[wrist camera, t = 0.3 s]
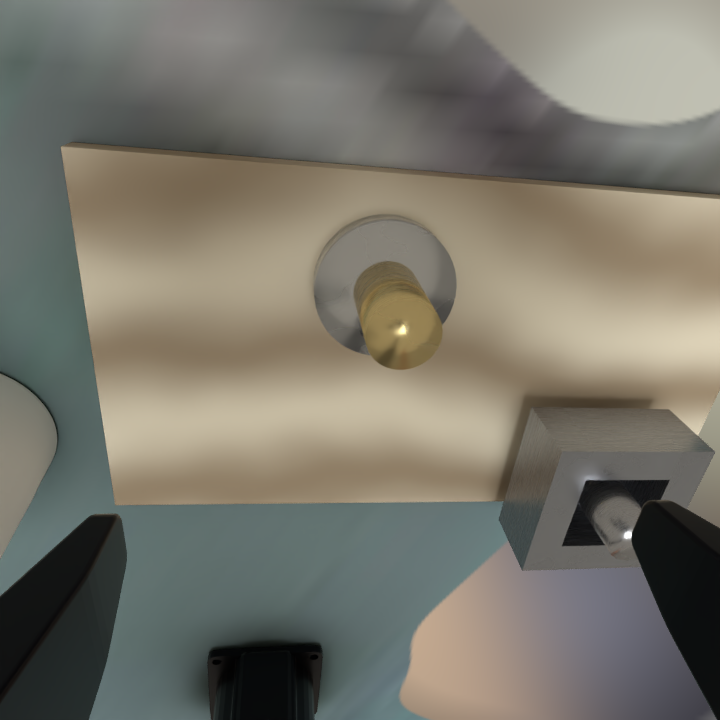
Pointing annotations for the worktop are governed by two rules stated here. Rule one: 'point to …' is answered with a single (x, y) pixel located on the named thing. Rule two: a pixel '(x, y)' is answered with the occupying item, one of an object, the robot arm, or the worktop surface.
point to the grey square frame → (593, 478)
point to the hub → (385, 289)
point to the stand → (611, 515)
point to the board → (359, 371)
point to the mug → (21, 452)
